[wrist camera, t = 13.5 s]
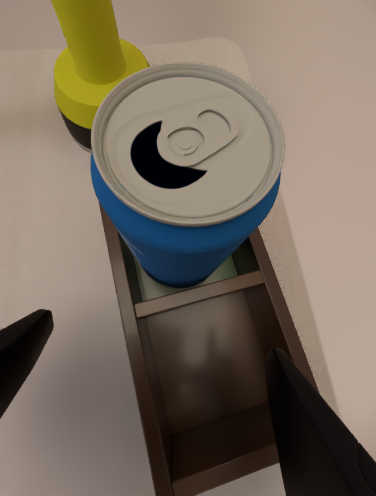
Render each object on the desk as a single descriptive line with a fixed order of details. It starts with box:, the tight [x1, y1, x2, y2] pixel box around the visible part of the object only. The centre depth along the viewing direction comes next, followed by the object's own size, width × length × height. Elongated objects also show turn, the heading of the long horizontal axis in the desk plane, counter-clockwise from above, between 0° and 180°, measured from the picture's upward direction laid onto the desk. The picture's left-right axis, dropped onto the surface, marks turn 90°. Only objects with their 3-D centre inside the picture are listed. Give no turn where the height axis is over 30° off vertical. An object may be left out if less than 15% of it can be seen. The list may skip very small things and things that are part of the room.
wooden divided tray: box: [99, 202, 320, 496], centre depth 16 cm, size 9×17×5 cm, turn 15°
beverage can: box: [91, 62, 285, 288], centre depth 13 cm, size 6×6×12 cm
